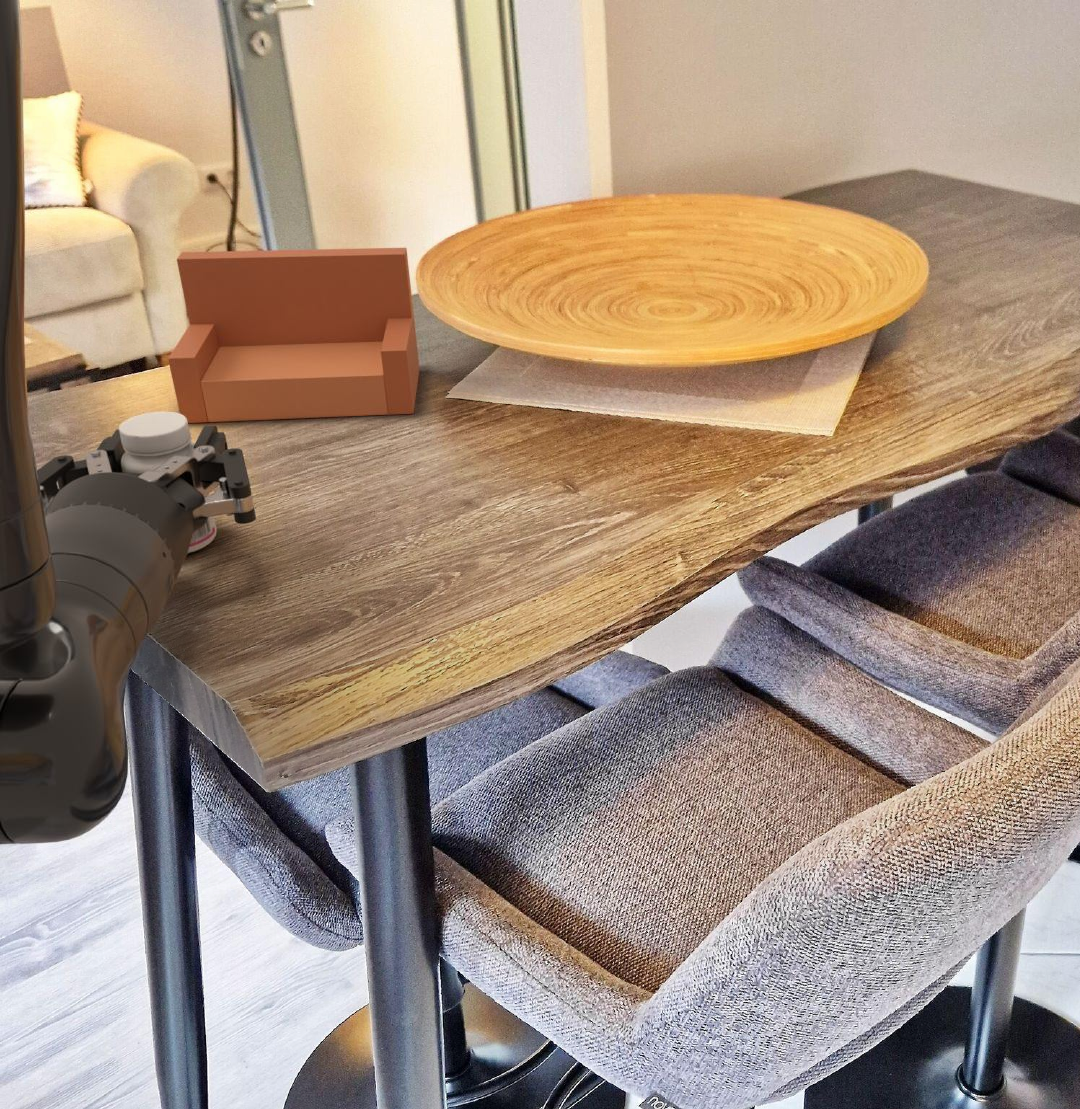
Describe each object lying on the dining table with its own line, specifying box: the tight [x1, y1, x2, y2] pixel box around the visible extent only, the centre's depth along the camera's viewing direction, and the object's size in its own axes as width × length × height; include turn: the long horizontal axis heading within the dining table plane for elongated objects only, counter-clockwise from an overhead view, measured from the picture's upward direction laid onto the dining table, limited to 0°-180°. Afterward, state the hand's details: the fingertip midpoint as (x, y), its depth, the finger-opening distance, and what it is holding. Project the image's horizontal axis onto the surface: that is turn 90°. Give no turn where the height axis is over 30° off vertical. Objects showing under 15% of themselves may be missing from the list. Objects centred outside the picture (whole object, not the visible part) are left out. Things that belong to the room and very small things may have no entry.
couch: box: [167, 247, 421, 424], centre depth 101 cm, size 18×10×11 cm, turn 100°
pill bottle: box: [118, 410, 217, 554], centre depth 79 cm, size 5×5×8 cm
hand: (169, 441), depth 81 cm, fingers closed on pill bottle, 4 cm apart
